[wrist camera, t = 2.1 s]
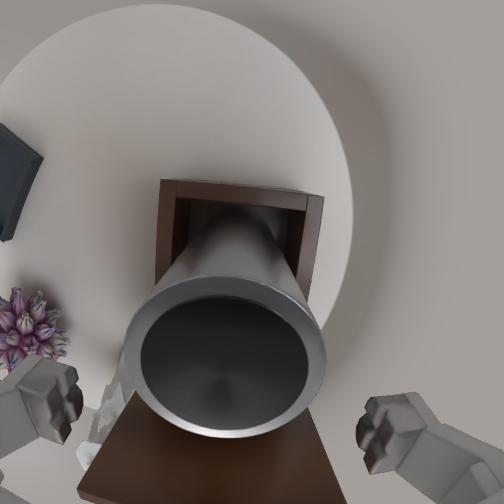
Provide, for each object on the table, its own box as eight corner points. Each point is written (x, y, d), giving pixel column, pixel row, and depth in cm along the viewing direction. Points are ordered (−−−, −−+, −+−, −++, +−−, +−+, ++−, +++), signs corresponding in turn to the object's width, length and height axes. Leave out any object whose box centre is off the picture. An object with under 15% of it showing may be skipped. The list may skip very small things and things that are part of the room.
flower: (25, 265, 31) (87, 290, 29) (32, 344, 33) (92, 377, 31) (-43, 285, 20) (9, 325, 18) (-23, 376, 22) (34, 426, 20)
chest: (183, 178, 28) (160, 178, 20) (302, 191, 28) (324, 196, 20) (175, 317, 31) (156, 359, 23) (281, 328, 32) (292, 372, 24)
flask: (239, 191, 27) (228, 224, 8) (285, 243, 28) (364, 374, 9) (188, 237, 28) (87, 357, 8) (234, 286, 29) (222, 460, 10)
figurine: (179, 351, 32) (138, 481, 15) (167, 399, 34) (134, 516, 16) (122, 331, 31) (47, 441, 14) (116, 381, 33) (61, 487, 16)
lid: (75, 488, 8) (99, 539, 8) (352, 514, 8) (322, 560, 8) (154, 357, 23) (155, 406, 23) (293, 371, 23) (284, 419, 24)
